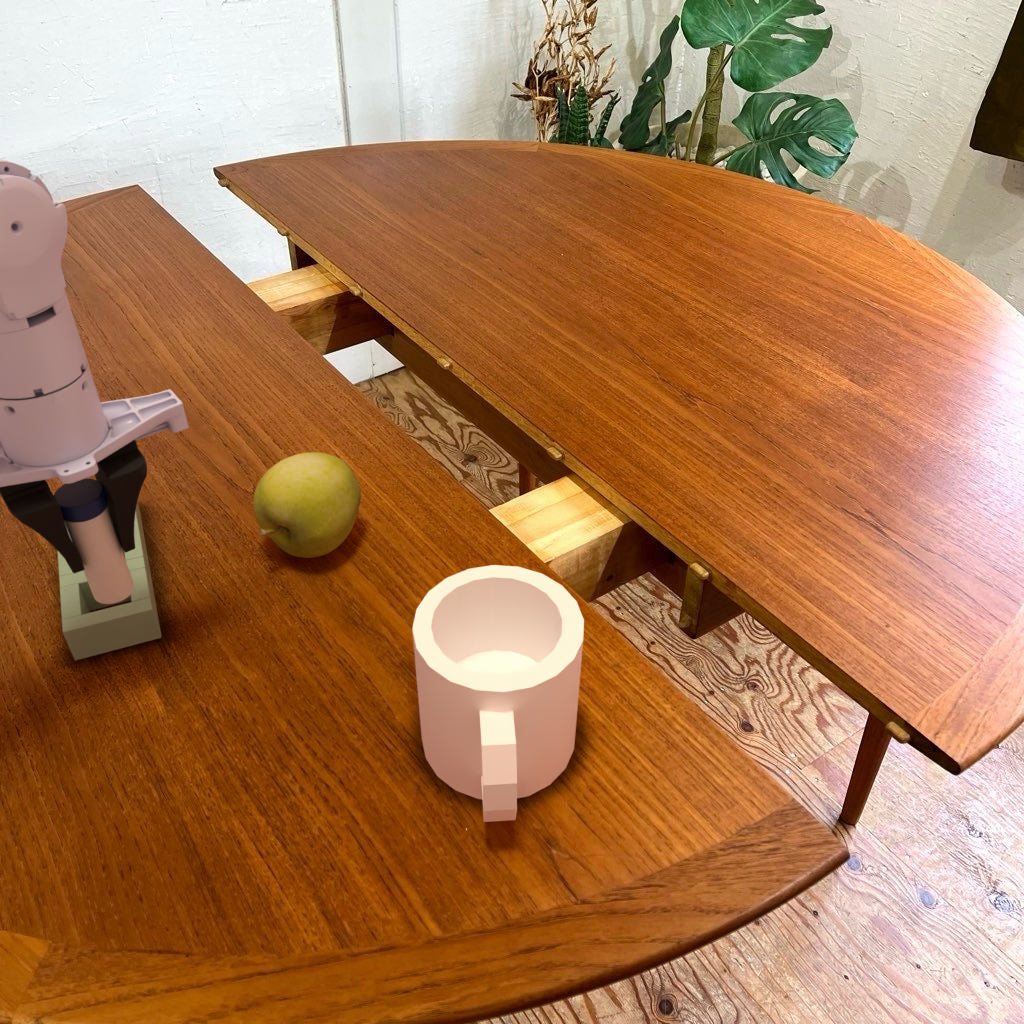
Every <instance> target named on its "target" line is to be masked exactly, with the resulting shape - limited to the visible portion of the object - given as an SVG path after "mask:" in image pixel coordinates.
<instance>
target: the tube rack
mask: <svg viewBox="0 0 1024 1024" xmlns="http://www.w3.org/2000/svg"><path fill="white" fill-rule="evenodd" d="M65 525H66V524H65ZM143 526H144V525H143V521H142V514H141V510H140V506H139V503H138V502H137V506H136V512H135V521H134V540H135V549H133V550H131V551H129V552H126V553H125V551H124V550H123V548H122V547H121V548H122V551H123V554H124V557H125V560H126V562H127V565H128V568H129V571H130V574H131V577H132V580H133V583H134V589H133V592H132V593H131V594H130V596H128V597H127V598H126V599H124V600H122V601H120V602H118V603H114V604H102V603H100V602H98V601H96V600H95V599H94V597H93V594H92V591H91V589H90V586H89V584H88V581H87V579H86V576H85V573H84V571H83V570H82V571H80V572H77V573H73V572H72V570H71V569H70V567H69V565H68V564H67V562H66V560H65V559H64V557H63V556H62V555H61V554H60V553H59V552H58V550H57V549H56V550H57V551H56V553H57V566H58V581H59V582H58V583H59V598H60V610H61V611H60V613H61V627H62V634H63V636H64V639H65V641H66V643H67V646H68V648H69V650H70V653H71V655H72V658H73V660H74V661H79V660H83V659H86V658H90V657H94V656H98V655H101V654H105V653H109V652H113V651H117V650H120V649H124V648H128V647H132V646H136V645H140V644H144V643H147V642H151V641H154V640H157V639H158V640H159V639H161V638H162V631H161V626H160V620H159V614H158V607H157V602H156V597H155V593H154V592H155V591H154V590H155V589H154V585H153V584H154V583H153V578H152V571H151V567H150V561H149V555H148V548H147V544H146V538H145V532H144V527H143ZM66 528H67V527H66ZM67 531H68V530H67ZM68 534H69V532H68ZM69 536H70V535H69ZM70 539H71V537H70ZM71 541H72V540H71Z"/></svg>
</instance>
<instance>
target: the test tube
mask: <svg viewBox="0 0 1024 1024" xmlns="http://www.w3.org/2000/svg"><path fill="white" fill-rule="evenodd" d="M53 495H54V497H55V498H56V500H57V502H58V503H59V505H60V509H61V512H62V516H63V519H64V522H65V524H66V527H67V530H68V532H69V535H70V537H71V540H72V543H73V544H74V546H75V548H76V550H77V552H78V554H79V556H80V558H81V560H82V562H83V565H84V568H85V570H83V571H84V573H85V576H86V579H87V581H88V584H89V586H90V589H91V591H92V594H93V597H94V599H95V600H96V601H98V602H100V603H102V604H114V603H118V602H120V601H122V600H124V599H126V598H127V597H128V596H130V594H131V593H132V592H133V589H134V583H133V580H132V577H131V574H130V571H129V568H128V565H127V562H126V560H125V557H124V554H123V551H122V548H121V545H120V542H119V539H118V536H117V534H116V531H115V528H114V525H113V522H112V519H111V516H110V513H109V510H108V507H107V505H108V500H107V497H106V494H105V491H104V488H103V486H102V484H101V483H100V482H98V481H97V480H96V479H94V478H85V479H82V480H79V481H77V482H74V483H70V484H64V483H63V484H62V485H61V486H60V487H58V488H57V489H56V490H55V492H54V494H53Z"/></svg>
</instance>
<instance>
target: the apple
mask: <svg viewBox="0 0 1024 1024" xmlns="http://www.w3.org/2000/svg"><path fill="white" fill-rule="evenodd" d="M361 498H362V491H361V487H360V483H359V481H358V478H357V476H356V474H355V472H354V471H353V470H352V468H351V467H350V466H349V464H348V463H347V462H346V461H345V460H343V459H342V458H340V457H337V456H335V455H333V454H330V453H326V452H321V451H320V452H319V451H309V452H301V453H297V454H294V455H291V456H288V457H286V458H283V459H281V460H280V461H278V462H277V463H275V464H274V465H272V466H271V467H270V468H269V469H267V470H266V472H264V473H263V475H262V476H261V478H260V479H259V481H258V483H257V485H256V486H255V489H254V493H253V500H252V501H253V511H254V516H255V519H256V522H257V524H258V526H259V527H260V530H259V534H260V536H261V537H266V536H267V537H268V538H270V540H272V541H273V543H274V544H275V545H276V546H277V547H278V548H280V549H281V550H282V551H283V552H285V553H287V554H288V555H291V556H294V557H297V558H303V559H305V558H306V559H311V558H317V557H321V556H325V555H327V554H330V553H331V552H333V551H335V550H336V549H337V548H339V547H340V546H341V545H342V544H343V543H344V541H345V540H346V539H347V538H348V536H349V535H350V533H351V531H352V530H353V527H354V525H355V522H356V521H357V516H358V514H359V509H360V504H361V500H362V499H361Z"/></svg>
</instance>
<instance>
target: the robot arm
mask: <svg viewBox="0 0 1024 1024" xmlns="http://www.w3.org/2000/svg"><path fill="white" fill-rule="evenodd" d="M31 172H32V170H30V169H28V168H27V167H25V166H23V165H20V164H18V163H15V162H12V161H8V160H5V159H3V158H0V496H1V498H2V500H3V502H4V503H5V505H6V507H7V509H8V511H9V513H10V514H11V515H12V516H13V517H14V518H15V519H16V520H18V521H19V522H20V524H23V525H24V526H26V527H28V528H30V529H31V530H33V531H34V532H36V533H38V535H40V536H41V537H42V538H43V539H45V541H47V542H48V543H49V544H50V545H51V546H52V547H53V548H54V549H55V550H58V552H59V553H60V554H61V555H62V556H63V557H64V559H65V560H66V562H67V564H68V565H69V567H70V569H71V570H72V572H73V573H77V572H80V571H82V570H85V568H84V565H83V562H82V560H81V558H80V556H79V554H78V552H77V550H76V548H75V546H74V544H73V543H72V541H71V539H70V536H69V534H68V531H67V528H66V525H65V522H64V519H63V516H62V512H61V509H60V505H59V503H58V502H57V500H56V498H55V497H54V494H53V492H52V491H51V488H50V485H49V483H48V481H47V480H51V479H59V480H60V482H61V483H63V485H64V484H70V483H74V482H77V481H79V480H82V479H89V478H91V477H93V476H94V477H95V480H97V481H98V482H100V483H101V484H102V486H103V488H104V491H105V494H106V497H107V500H108V505H107V507H108V510H109V513H110V516H111V519H112V522H113V525H114V528H115V531H116V534H117V536H118V539H119V542H120V545H121V547H122V548H123V550H124V551H125V553H126V552H129V551H131V550H133V549H135V540H134V521H135V512H136V506H137V503H138V501H139V497H140V493H141V490H142V487H143V486H144V485H143V484H144V482H145V480H146V478H147V476H148V465H147V462H146V461H147V460H146V458H145V455H144V454H143V453H142V452H141V451H140V449H139V447H138V444H137V441H139V440H142V439H145V438H148V437H150V436H153V435H156V434H159V433H162V432H165V431H167V430H169V432H170V433H172V434H177V433H180V432H183V431H185V430H189V428H190V426H189V423H188V419H187V414H186V410H185V407H184V402H183V401H182V400H181V399H180V398H179V397H178V396H177V394H175V393H174V392H173V390H172V389H171V388H168V389H165V390H163V391H160V392H155V393H151V394H147V395H142V396H136V397H127V398H121V399H115V400H109V401H101V400H100V396H99V393H98V390H97V386H96V383H95V380H94V378H93V374H92V371H91V368H90V367H91V366H90V365H89V361H88V358H87V357H88V356H87V355H86V352H85V347H84V346H83V342H82V338H81V336H80V333H79V330H78V327H77V323H76V320H75V317H74V314H73V311H72V308H71V305H70V302H69V298H68V295H67V293H66V289H65V288H66V287H67V282H66V279H65V276H64V273H63V269H62V255H63V253H64V249H65V246H66V243H67V237H68V229H69V228H68V227H69V226H68V225H69V223H68V221H69V220H68V214H67V208H66V205H65V204H64V203H59V202H58V201H55V200H54V199H53V196H52V194H51V192H50V190H49V189H48V187H47V185H46V184H45V183H44V182H43V181H42V179H41V178H40V177H39V176H38V175H36V174H32V173H31Z"/></svg>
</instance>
